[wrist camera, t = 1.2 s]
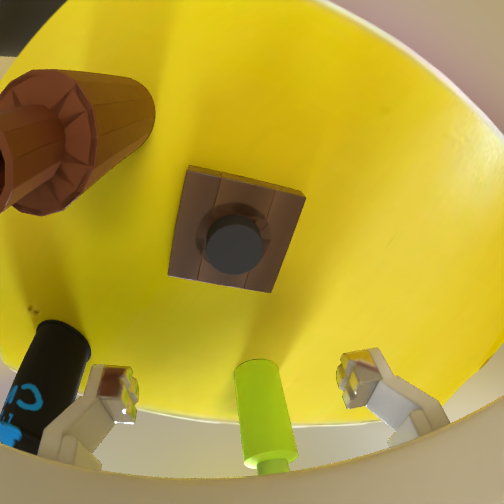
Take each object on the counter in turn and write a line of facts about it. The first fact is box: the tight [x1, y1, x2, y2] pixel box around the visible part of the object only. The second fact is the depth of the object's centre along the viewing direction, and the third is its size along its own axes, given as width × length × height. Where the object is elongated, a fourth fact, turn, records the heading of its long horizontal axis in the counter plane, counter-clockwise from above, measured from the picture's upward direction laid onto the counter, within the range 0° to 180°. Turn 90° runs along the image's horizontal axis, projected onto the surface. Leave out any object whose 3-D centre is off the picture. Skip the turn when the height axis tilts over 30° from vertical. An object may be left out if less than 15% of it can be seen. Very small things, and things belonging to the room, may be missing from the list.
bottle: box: [0, 69, 155, 216], centre depth 14 cm, size 7×7×17 cm
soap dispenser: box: [234, 359, 298, 475], centre depth 30 cm, size 6×7×20 cm
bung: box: [206, 215, 264, 275], centre depth 26 cm, size 5×5×4 cm
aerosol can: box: [0, 320, 91, 455], centre depth 24 cm, size 8×8×20 cm
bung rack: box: [168, 165, 306, 293], centre depth 27 cm, size 10×10×2 cm
